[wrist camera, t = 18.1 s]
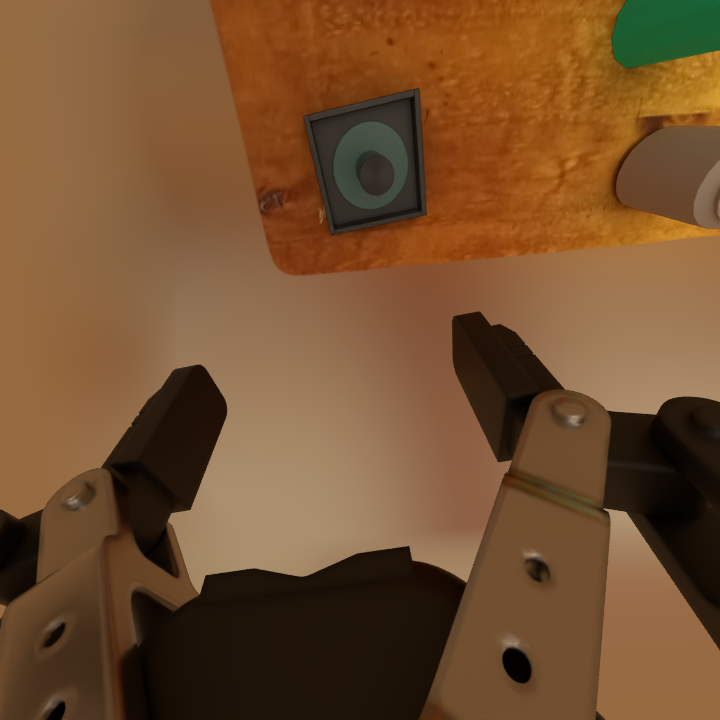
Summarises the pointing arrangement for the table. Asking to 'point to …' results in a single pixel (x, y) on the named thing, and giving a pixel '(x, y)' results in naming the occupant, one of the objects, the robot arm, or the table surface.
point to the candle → (665, 30)
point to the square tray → (329, 130)
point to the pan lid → (370, 165)
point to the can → (675, 175)
